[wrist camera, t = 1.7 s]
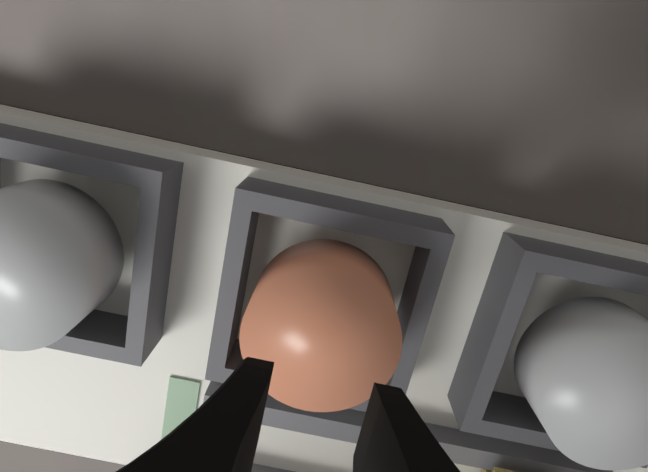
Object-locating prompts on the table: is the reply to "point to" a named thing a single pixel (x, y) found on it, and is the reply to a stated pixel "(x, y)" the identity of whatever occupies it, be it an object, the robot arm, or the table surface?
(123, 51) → the table surface
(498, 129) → the table surface
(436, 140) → the table surface
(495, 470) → the brass slider
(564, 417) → the grey button
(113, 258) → the grey button
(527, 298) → the panel
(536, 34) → the table surface
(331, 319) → the terracotta button
